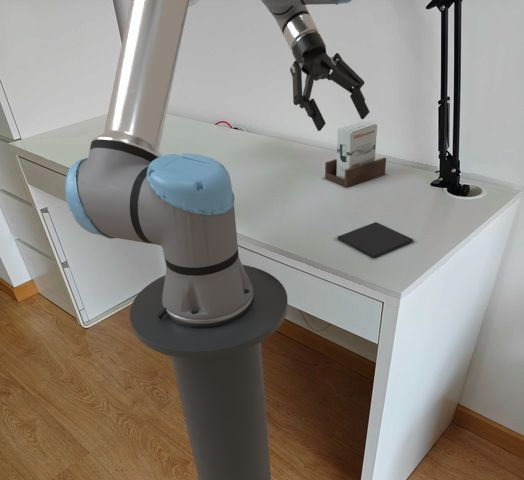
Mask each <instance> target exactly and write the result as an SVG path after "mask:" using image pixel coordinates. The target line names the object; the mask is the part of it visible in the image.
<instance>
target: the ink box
mask: <svg viewBox="0 0 524 480" xmlns="http://www.w3.org/2000/svg"><path fill="white" fill-rule="evenodd" d="M377 132H378V124H376V122H371V121H363V120H362V121H360V122H356V123H353V124H349V125H345V126H342V127H340V128H337V134H336V136H337V139H336V140H337V141H336V159H337V176H338V177H341V178H343V179H345V170H346V169H349V168H352V167H355V166H359V165H362V164H365V163H368V162H371V161H375V160H376V148H377V147H376V145H377Z"/></svg>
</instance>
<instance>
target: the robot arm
mask: <svg viewBox="0 0 524 480" xmlns="http://www.w3.org/2000/svg"><path fill="white" fill-rule="evenodd" d="M260 1H261V2H262V4H264V6H265V7H266V9H267V10H268V12H270V14H271V16H273V18H274V20H275V21H276V23H277V25H278V27H279V29H280V31H281V33H282V36H283V37H284V39H285V42H286V43H287V45H288V47H289V49H290V51H291V55H292V56H293V58H294V61H293V63H292V64H291V66H290V68H289V71H290V74H291V78H292V102H293V105H295V106H299V108H300V109H304V111H305V112H306V115H307V116H308V117H309V118H311V120H312V122H313V124H314V127H315V128H316V130H317V132H320V131H322V129H324V127H325V126H326V124H327V123H326V121H325V119H324V117H323V114H322V113H321V110H320V109H319V106H318V104H317V103H316V100H315V98H311V95H312V90H313V86H314V82H317V81H320V80H328V81H332V82H333V83H336V85H338V86H340V87H341V88H343V89H344V90H346V91H347V92H348V93H350V96H349V97H350V99H351V101H352V104H353V105H354V107H355V109H356V112H357V113H358V115H359V118H360V119H361V120H362V121H363V120H364V119H365V118H366V117H367V116H368V115H369V113H370V112H371V111H370V110H369V108H368V105H367V103H366V98H365V96H364V94H363V92H362V90H361V89H362V87H363V86H364V85H365V84H366V83H365V80H363V78H362V77H361V76H360V75H358V73H356V71H355V70H354V69H353V68H351V66H350V65H349V64H348V63H347V62H345V61H344V60H343V58H342V56H341V55H340V53H339V52H336V53H335V54H334V55H333V56H329V55H328V53H327V46H326V44H325V42H324V39H323V38H322V35H321V33H319V32H320V31H319V29H318V27H317V26H316V23H315V22H314V19H313V17H312V15H311V14H310V13H309V10H308V9H307V6H308V5H336V6H338V5H340V4H341V5H342V4H349V3H351V2H352V1H353V0H260ZM198 2H199V0H130V3H129V6H128V7H129V8H128V11H127V17H126V21H125V26H124V31H123V36H122V41H121V47H120V52H119V57H118V62H117V65H116V66H117V67H116V71H115V76H114V82H113V86H112V91H111V96H110V101H109V106H108V111H107V116H106V121H105V125H104V130H103V133H101V134H99V135H98V136H95V137H94V138H92V139H91V142H90V147H89V151H88V155H87V157H84V158H82V159H81V158H80V159H78V160H76V162H75V163H74V164H72V165H71V166H70V167H69V169H68V172H67V174H66V178H65V186H64V187H65V190H64V192H65V198H66V203H67V207H68V209H69V211H70V212H71V213H72V217H73V219H74V220H75V222H76V223H77V224H78V226H80V228H82V229H83V230H85V231H86V232H88V233H89V234H93V235H97V236H102V237H104V238H107V239H111V240H112V239H120V240H127V241H132V242H138V243H143V244H144V243H145V244H149V245H150V244H151V245H156V246H161V248H162V253H163V256H164V257H163V258H164V260H165V261H164V262H165V266H166V267H165V268H166V269H165V274H164V275H165V281H164V288H163V294H162V303H163V309H162V310H161V311H160V312H159V313H158V314H157V315H156V316H157V317H158V318H159V319H161V318H162V317H163V316H164V315H165V314H166V316H167V317H168V318H169V319H170V320H171V321H173V322H175V323H177V324H179V325H182V326H185V327H191V328H212V327H218V326H222V325H225V324H228V323H231V322H233V321H235V320H237V319H239V318H241V317H242V316H243V315H245V314H246V313H247V312H248V311H249V310H250V308H251V307H252V305H253V301H254V297H253V288H252V285H251V282H250V280H249V278H248V276H247V274H246V272H245V270H244V267H243V265H244V264H243V263H242V261H241V259H240V256H239V255H240V254H239V246H238V244H239V243H238V234H237V223H236V212H235V194H234V191H233V187H232V186H233V185H232V181H231V176H230V173H229V171H228V170H227V168H226V167H225V166H224V164H222V163H221V162H220V161H217V160H216V159H214V158H211V157H209V156H205V155H201V154H196V153H185V152H184V153H181V154H177V153H172V154H165V155H162V154H161V152H160V146H161V141H162V136H163V131H164V127H165V122H166V117H167V111H168V107H169V102H170V98H171V92H172V87H173V83H174V78H175V73H176V68H177V63H178V59H179V53H180V49H181V45H182V44H181V43H182V40H183V34H184V31H185V25H186V20H187V15H188V9H189V8H190V7H193V6H194V5H196V4H197V3H198ZM302 73H304V74H305V75H306V76H305V80H304V88H303V76H302V75H303V74H302Z"/></svg>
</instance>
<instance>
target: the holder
mask: <svg viewBox="0 0 524 480" xmlns="http://www.w3.org/2000/svg"><path fill="white" fill-rule="evenodd" d="M324 164H325V165H324V179H326V180H328V181H329V182H333V183H335V184H337V185H340V186H342V187H344V188H350V187H352V186H355V185H358V184H361V183H364V182H368V181H370V180H373V179H376V178H379V177H382V176H385V174H386V167H387V158H386V157H382V158H378V159H375V161H371V162H368V163H365V164H362V165H359V166H355V167H352V168H349V169H346V170H345V179H343V178H341V177H338V176H337V158H334V159H331V160H328V161H325V163H324Z"/></svg>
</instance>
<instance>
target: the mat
mask: <svg viewBox="0 0 524 480" xmlns="http://www.w3.org/2000/svg"><path fill="white" fill-rule="evenodd" d="M337 240H338V241H340V242H342V243H344V244H346V245H347V246H350V247H352V248H354V249H356V250H357V251H359V252H361V253H363V254H365V255H367V256H369V257H370V258H372V259H376V258H378V257H380V256H383V255H385V254H387V253H390V252H392V251H394V250H397V249H399V248H401V247H404V246H407V245H409V244H411V243H413V241H414V238H412V237H409V236H407V235H405V234H403V233H400V232H398V231H396V230H394V229H392V228H390V227H388V226H386V225H383V224H381V223H379V222H377V221H374V222H371V223H370V224H367V225H364V226H362V227H358V228H357V229H354V230H351V231H348V232H346V233H342V234H341V235H337Z"/></svg>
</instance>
